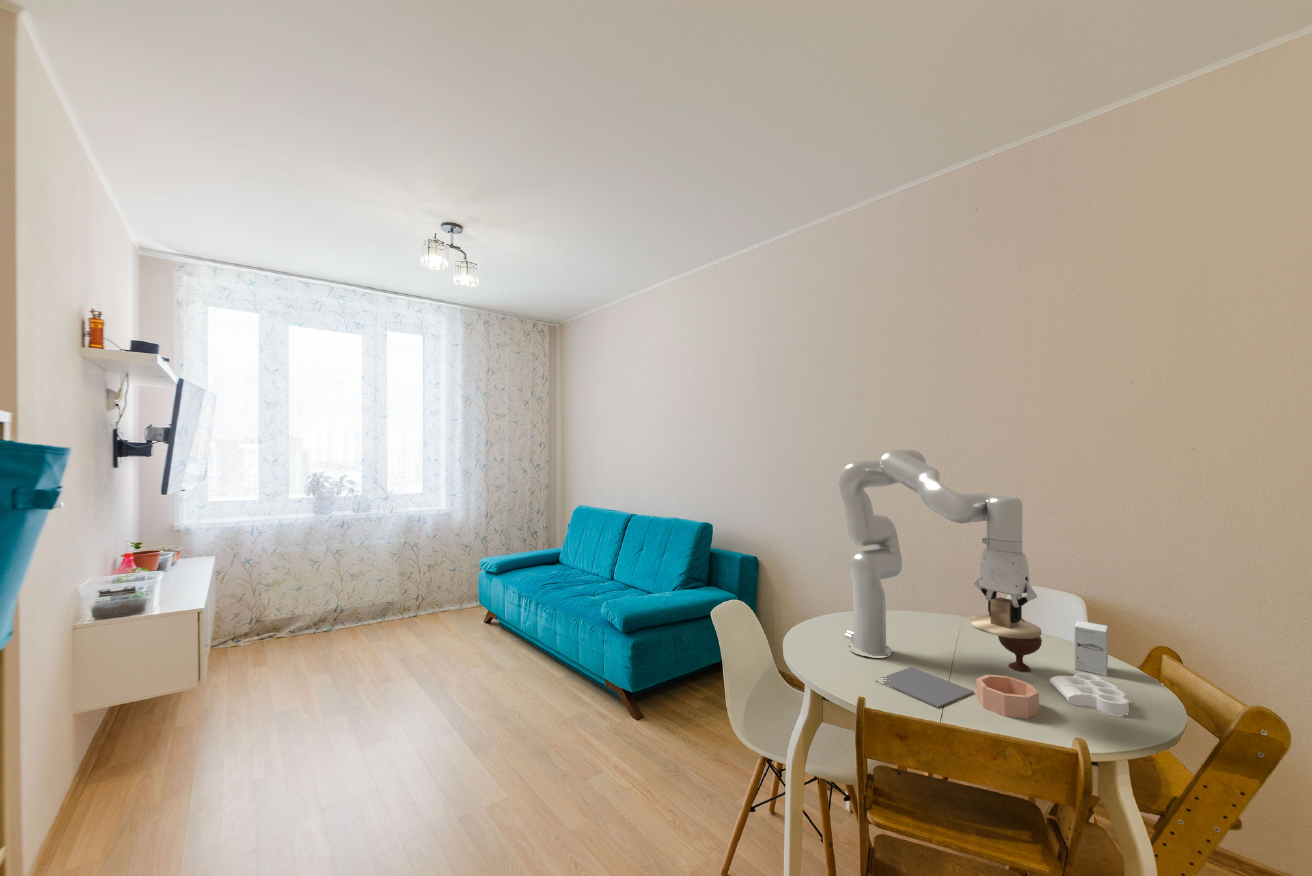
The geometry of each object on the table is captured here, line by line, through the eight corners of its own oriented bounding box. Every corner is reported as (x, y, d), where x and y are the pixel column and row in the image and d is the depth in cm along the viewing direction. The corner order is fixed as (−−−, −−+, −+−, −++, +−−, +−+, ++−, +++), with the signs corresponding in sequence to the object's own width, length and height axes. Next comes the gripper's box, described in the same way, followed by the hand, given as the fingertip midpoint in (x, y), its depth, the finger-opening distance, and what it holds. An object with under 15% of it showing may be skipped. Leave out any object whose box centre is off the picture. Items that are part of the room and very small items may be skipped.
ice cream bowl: (1050, 677, 151) (1049, 623, 151) (1006, 674, 153) (1005, 621, 153) (1032, 662, 161) (1031, 611, 161) (990, 659, 163) (990, 609, 163)
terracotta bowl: (969, 701, 137) (968, 681, 137) (994, 690, 143) (994, 671, 143) (1020, 722, 126) (1020, 701, 126) (1046, 709, 132) (1045, 689, 133)
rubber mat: (875, 681, 149) (875, 679, 149) (911, 668, 157) (911, 667, 157) (938, 708, 133) (938, 706, 133) (974, 693, 141) (974, 691, 142)
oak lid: (957, 624, 138) (957, 597, 138) (989, 614, 145) (989, 589, 145) (1021, 643, 125) (1021, 613, 125) (1053, 631, 132) (1053, 603, 133)
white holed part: (1045, 681, 149) (1109, 688, 145) (1074, 712, 132) (1147, 720, 128) (1045, 669, 149) (1109, 675, 145) (1074, 698, 132) (1147, 706, 128)
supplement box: (1073, 669, 156) (1073, 625, 156) (1076, 661, 161) (1075, 619, 162) (1107, 676, 151) (1106, 631, 151) (1108, 668, 156) (1108, 624, 156)
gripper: (962, 541, 141) (962, 612, 140) (1034, 553, 126) (1034, 632, 126) (978, 539, 144) (978, 607, 144) (1050, 550, 130) (1050, 626, 130)
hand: (1004, 618), depth 135 cm, fingers closed on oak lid, 4 cm apart
